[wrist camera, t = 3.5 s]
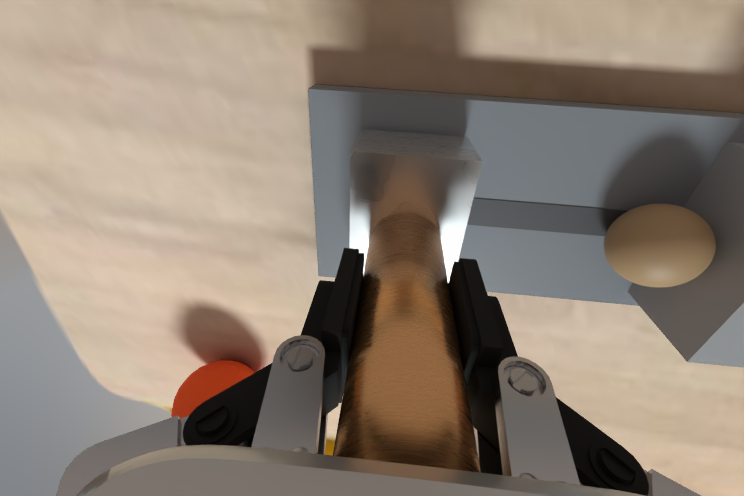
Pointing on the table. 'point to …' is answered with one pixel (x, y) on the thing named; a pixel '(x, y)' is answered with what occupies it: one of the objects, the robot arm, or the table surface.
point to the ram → (408, 301)
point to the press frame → (573, 201)
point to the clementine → (207, 384)
